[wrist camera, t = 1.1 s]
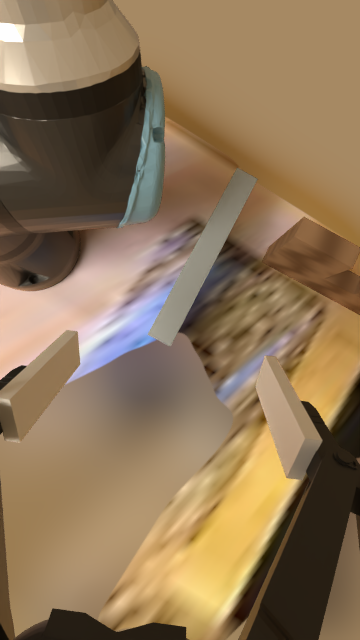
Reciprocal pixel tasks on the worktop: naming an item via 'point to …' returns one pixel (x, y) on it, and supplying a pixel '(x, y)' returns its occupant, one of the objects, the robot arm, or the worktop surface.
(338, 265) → the walnut slotted board
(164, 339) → the grey plain narrow board
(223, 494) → the worktop surface
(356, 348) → the worktop surface
